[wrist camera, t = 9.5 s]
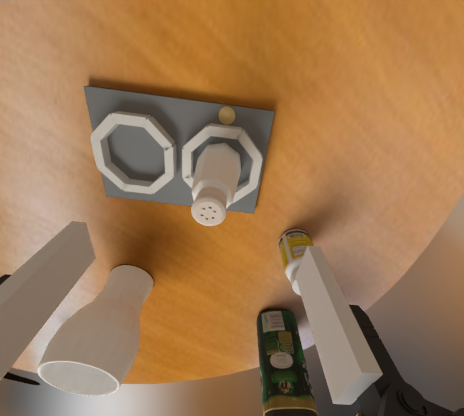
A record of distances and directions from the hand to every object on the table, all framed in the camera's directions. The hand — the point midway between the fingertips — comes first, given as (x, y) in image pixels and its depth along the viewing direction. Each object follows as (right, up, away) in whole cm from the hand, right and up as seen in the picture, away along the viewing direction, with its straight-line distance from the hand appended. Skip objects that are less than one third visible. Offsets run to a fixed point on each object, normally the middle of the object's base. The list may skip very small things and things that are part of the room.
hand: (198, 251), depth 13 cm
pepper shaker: (+1, +8, +13) cm, 15 cm away
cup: (-16, -10, +26) cm, 32 cm away
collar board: (-4, +9, +13) cm, 17 cm away
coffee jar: (+11, -20, +31) cm, 39 cm away
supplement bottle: (+11, -2, +20) cm, 23 cm away
